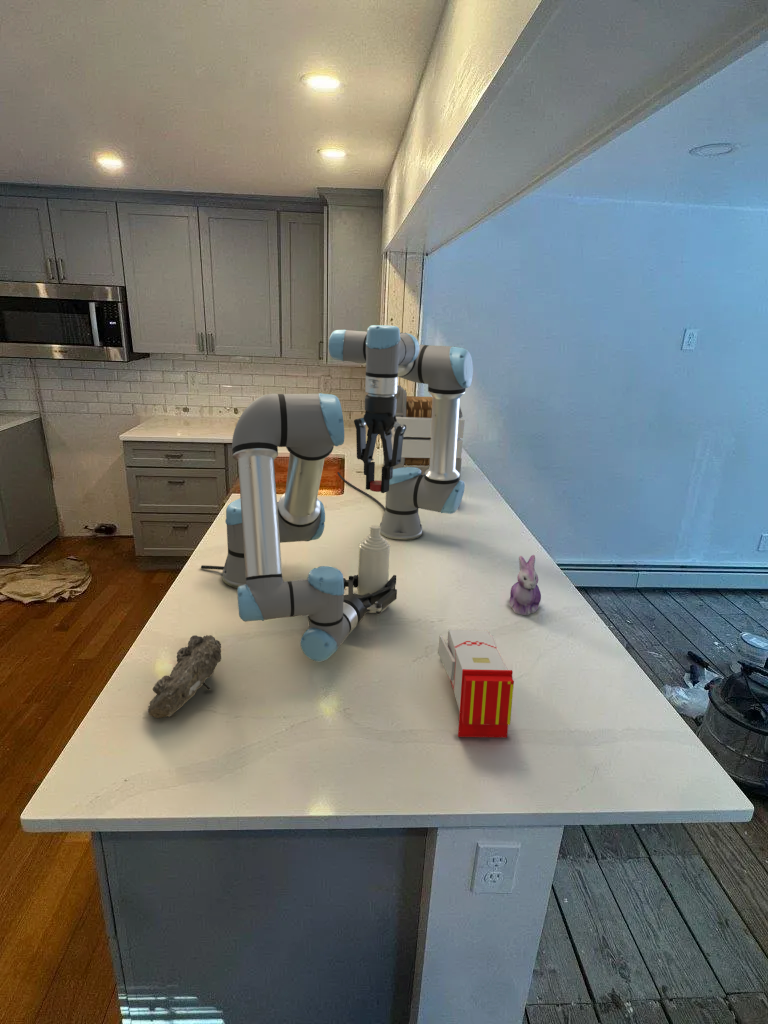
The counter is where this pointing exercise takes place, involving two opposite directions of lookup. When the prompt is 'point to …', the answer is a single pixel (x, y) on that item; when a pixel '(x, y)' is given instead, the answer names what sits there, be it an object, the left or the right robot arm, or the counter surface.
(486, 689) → the toy
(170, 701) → the fossil
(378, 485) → the cap
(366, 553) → the bottle
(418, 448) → the white slatted crate
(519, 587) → the figurine
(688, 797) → the counter surface
